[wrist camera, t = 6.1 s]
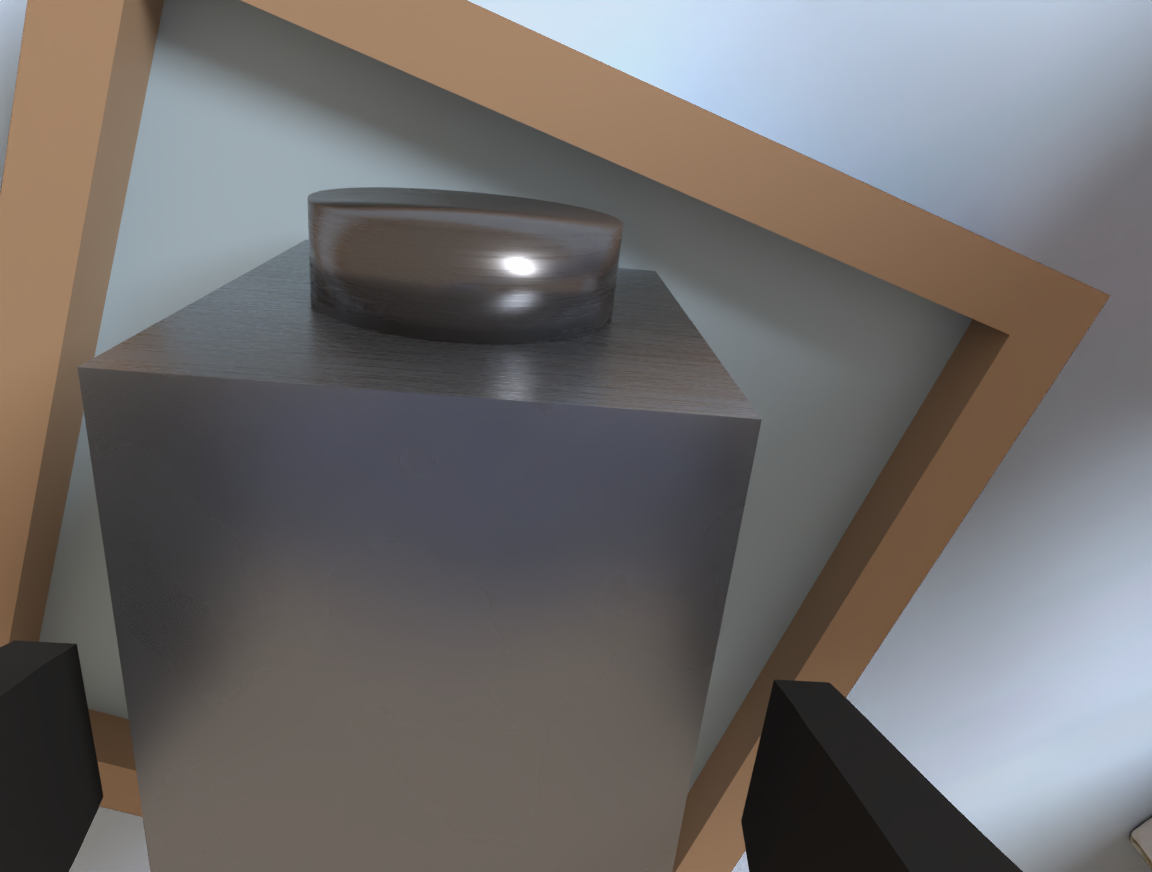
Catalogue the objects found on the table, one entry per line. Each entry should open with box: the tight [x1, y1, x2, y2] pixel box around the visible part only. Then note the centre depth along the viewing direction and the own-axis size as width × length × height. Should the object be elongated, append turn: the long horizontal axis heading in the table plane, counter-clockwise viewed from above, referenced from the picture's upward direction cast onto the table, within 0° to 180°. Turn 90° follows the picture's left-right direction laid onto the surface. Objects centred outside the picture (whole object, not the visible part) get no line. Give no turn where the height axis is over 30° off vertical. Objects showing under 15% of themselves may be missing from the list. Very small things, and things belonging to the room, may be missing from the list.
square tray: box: [0, 0, 1110, 872], centre depth 13 cm, size 14×14×3 cm
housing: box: [77, 187, 762, 872], centre depth 10 cm, size 9×5×6 cm, turn 175°
